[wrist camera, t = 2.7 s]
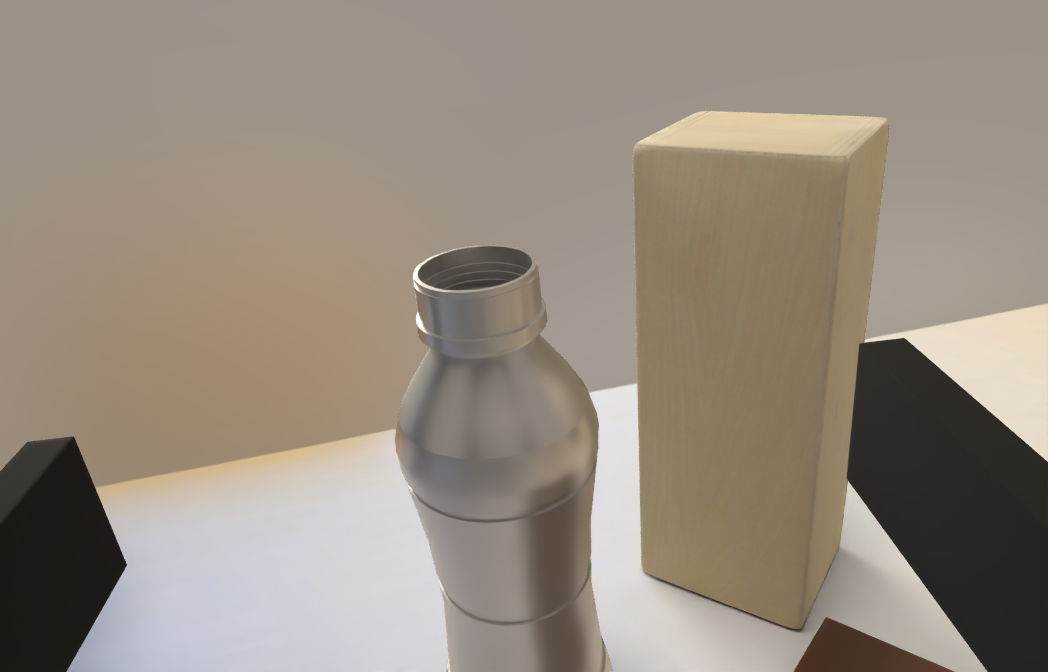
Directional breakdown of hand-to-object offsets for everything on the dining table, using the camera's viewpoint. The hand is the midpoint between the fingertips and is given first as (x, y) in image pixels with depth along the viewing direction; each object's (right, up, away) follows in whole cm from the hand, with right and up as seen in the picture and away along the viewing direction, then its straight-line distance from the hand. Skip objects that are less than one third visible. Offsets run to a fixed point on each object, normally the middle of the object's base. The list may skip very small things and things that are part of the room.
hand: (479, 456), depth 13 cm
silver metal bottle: (+1, -14, +18) cm, 23 cm away
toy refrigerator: (+12, -9, +26) cm, 30 cm away
